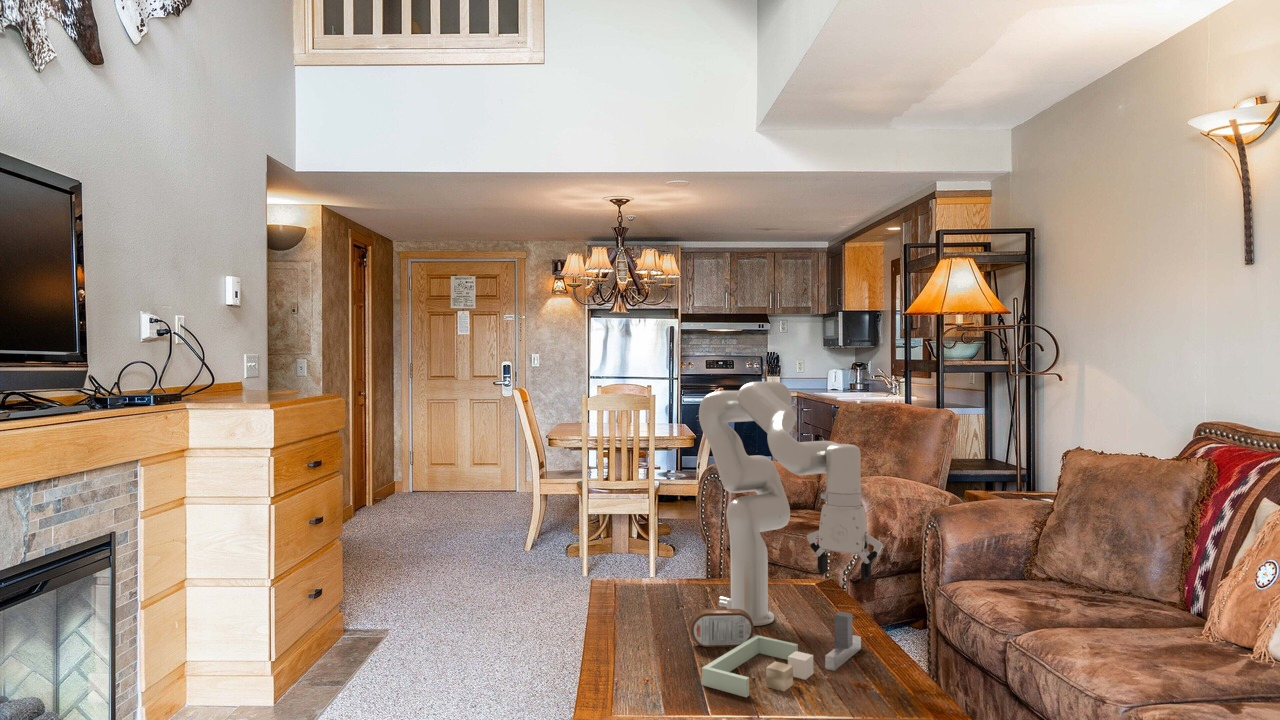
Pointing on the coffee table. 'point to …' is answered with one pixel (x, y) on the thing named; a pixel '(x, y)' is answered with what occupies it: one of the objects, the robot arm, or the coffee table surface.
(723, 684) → the block corral
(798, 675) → the cream block
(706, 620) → the tin
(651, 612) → the coffee table surface
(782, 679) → the maple block
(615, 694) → the coffee table surface
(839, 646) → the slider lever
